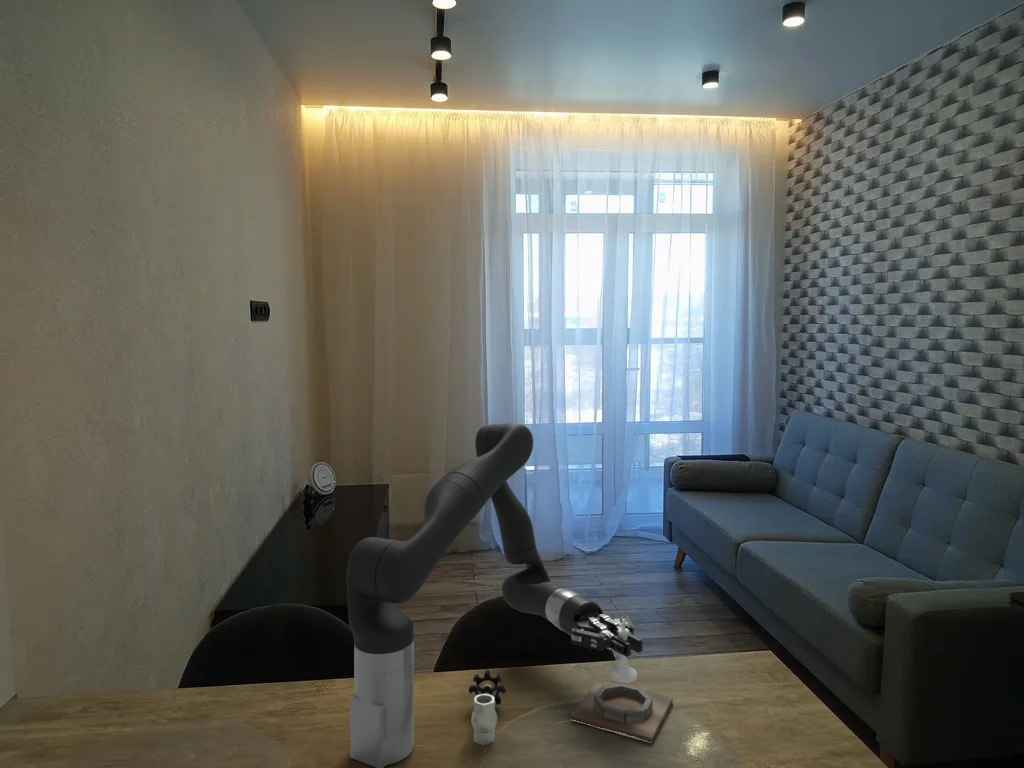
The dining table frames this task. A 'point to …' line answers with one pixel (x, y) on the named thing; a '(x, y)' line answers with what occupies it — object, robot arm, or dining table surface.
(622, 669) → the chess piece
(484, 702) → the valve
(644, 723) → the board
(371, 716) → the robot arm
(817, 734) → the dining table surface
